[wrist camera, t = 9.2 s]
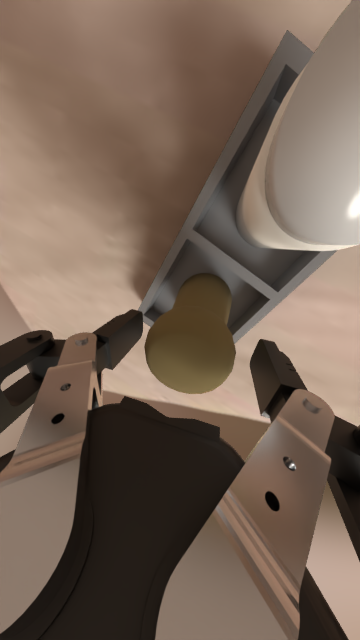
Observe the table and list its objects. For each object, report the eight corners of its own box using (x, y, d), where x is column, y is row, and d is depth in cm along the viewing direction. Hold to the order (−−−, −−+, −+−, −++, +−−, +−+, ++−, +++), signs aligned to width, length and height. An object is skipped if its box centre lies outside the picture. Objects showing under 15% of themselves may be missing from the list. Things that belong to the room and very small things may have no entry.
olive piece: (167, 298, 18) (107, 357, 8) (206, 259, 15) (183, 283, 6) (201, 333, 19) (182, 423, 9) (244, 303, 16) (278, 386, 7)
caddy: (270, 84, 10) (287, 29, 8) (384, 180, 11) (436, 160, 8) (145, 306, 20) (134, 315, 18) (210, 351, 21) (209, 366, 18)
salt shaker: (247, 162, 12) (338, -107, 3) (328, 167, 11) (825, -190, 2) (227, 243, 14) (241, 239, 5) (292, 252, 13) (434, 265, 5)
